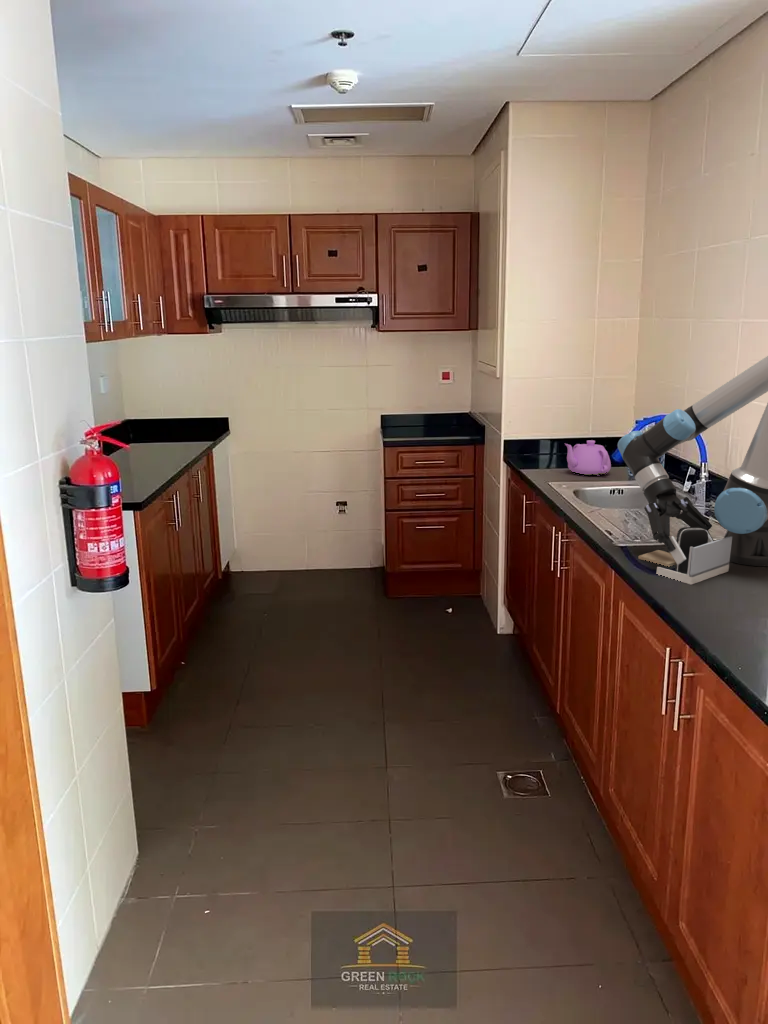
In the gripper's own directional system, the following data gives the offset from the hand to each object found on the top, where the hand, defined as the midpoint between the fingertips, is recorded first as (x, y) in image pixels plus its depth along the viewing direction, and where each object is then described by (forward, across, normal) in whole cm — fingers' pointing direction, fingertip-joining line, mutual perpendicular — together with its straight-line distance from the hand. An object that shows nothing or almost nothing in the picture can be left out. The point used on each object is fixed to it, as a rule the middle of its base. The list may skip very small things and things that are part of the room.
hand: (699, 558), depth 190 cm
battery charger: (+1, 0, -5) cm, 5 cm away
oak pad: (-6, -2, -12) cm, 14 cm away
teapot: (-77, -65, -83) cm, 131 cm away
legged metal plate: (+2, 0, -4) cm, 4 cm away
